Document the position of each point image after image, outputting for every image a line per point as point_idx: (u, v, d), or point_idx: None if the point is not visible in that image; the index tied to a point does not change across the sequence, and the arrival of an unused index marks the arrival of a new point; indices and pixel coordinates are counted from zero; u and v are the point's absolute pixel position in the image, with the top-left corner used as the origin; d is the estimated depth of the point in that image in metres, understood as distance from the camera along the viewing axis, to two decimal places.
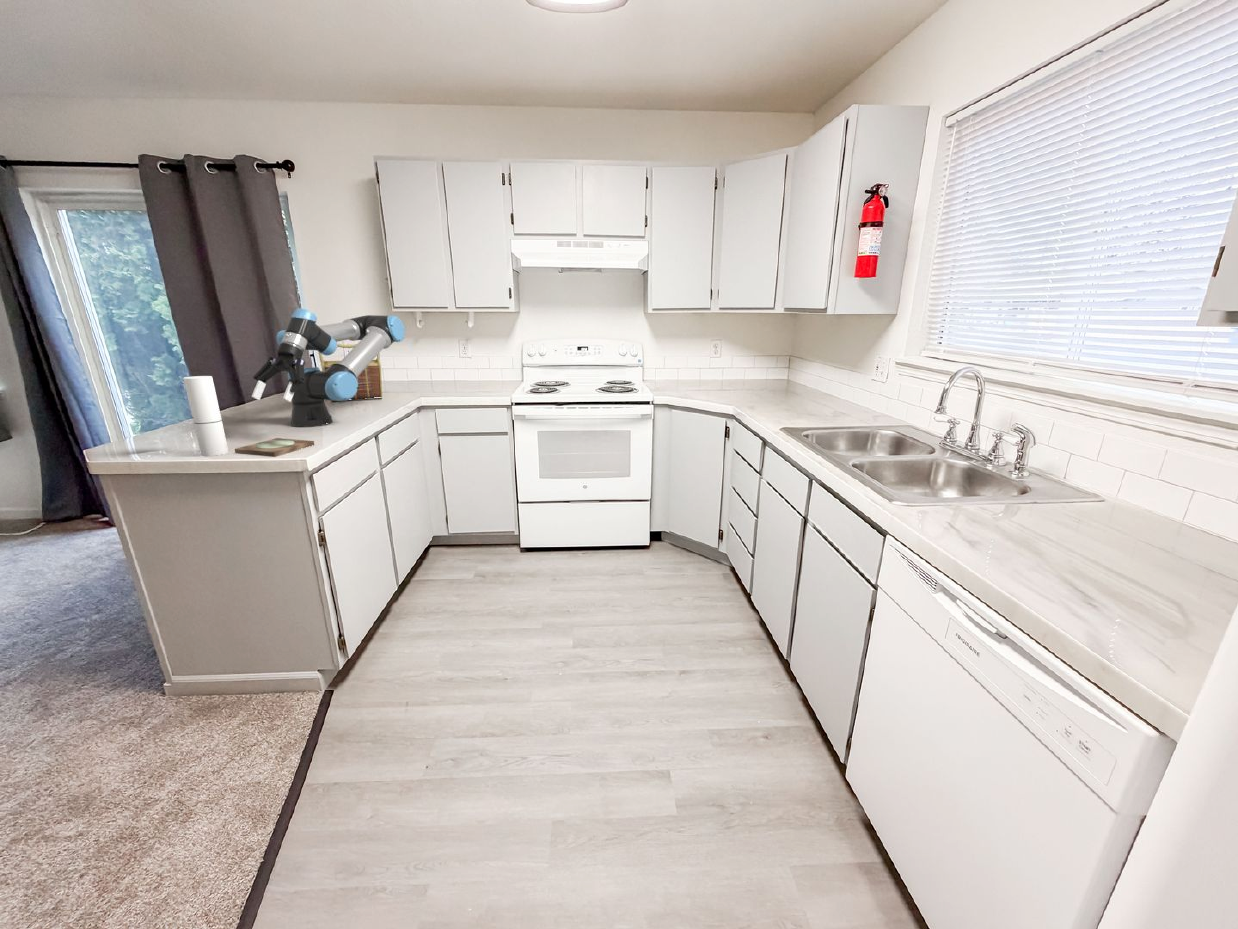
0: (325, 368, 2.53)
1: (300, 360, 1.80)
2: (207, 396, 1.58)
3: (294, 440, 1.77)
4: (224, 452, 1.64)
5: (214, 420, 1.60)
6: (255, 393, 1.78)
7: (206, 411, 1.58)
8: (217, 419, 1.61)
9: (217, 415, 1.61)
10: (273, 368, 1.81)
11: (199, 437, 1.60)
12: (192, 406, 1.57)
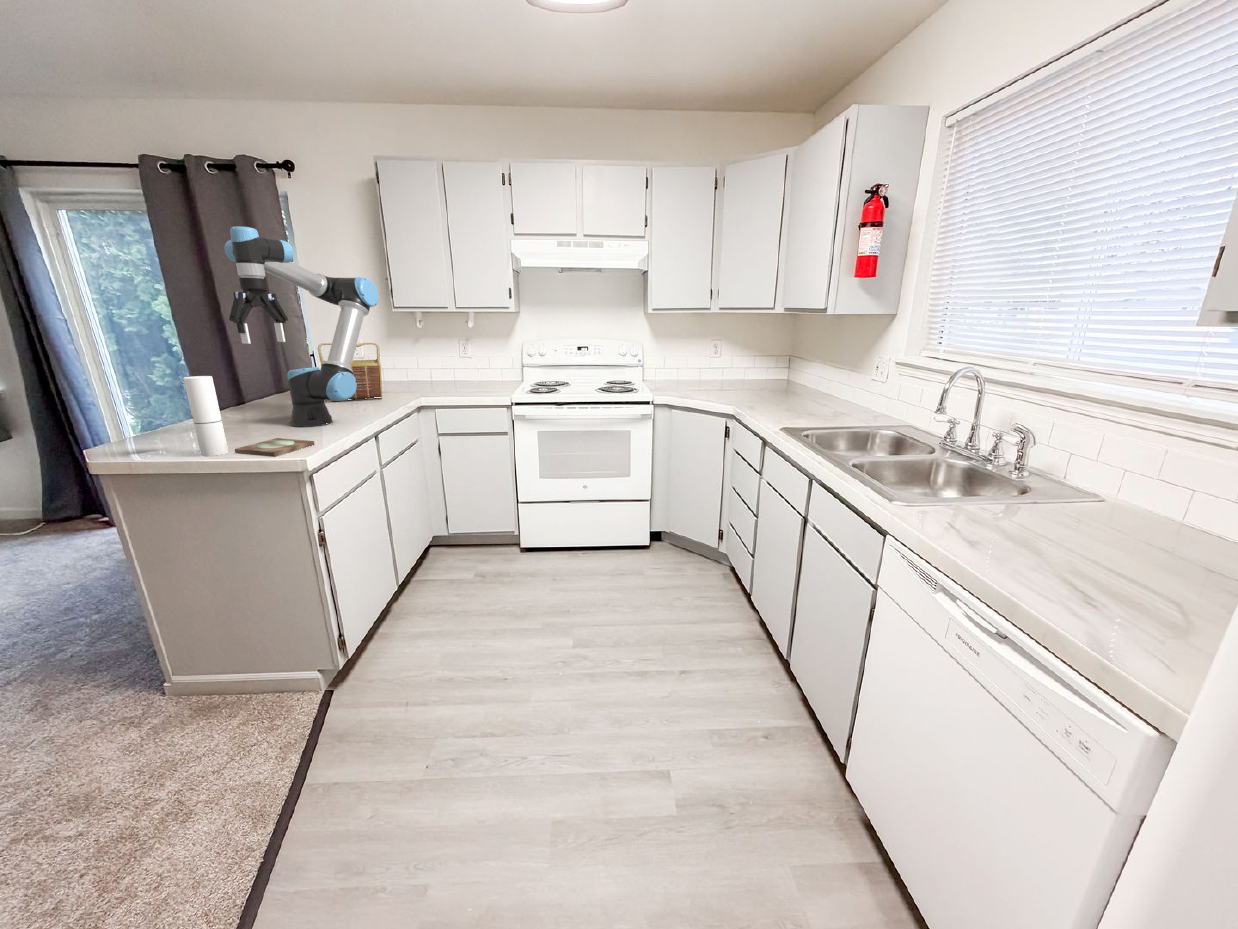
0: None
1: (234, 294, 1.63)
2: (207, 396, 1.58)
3: (294, 440, 1.77)
4: (224, 452, 1.64)
5: (214, 420, 1.60)
6: (277, 337, 1.79)
7: (206, 411, 1.58)
8: (217, 419, 1.61)
9: (217, 415, 1.61)
10: (263, 307, 1.73)
11: (199, 437, 1.60)
12: (192, 406, 1.57)
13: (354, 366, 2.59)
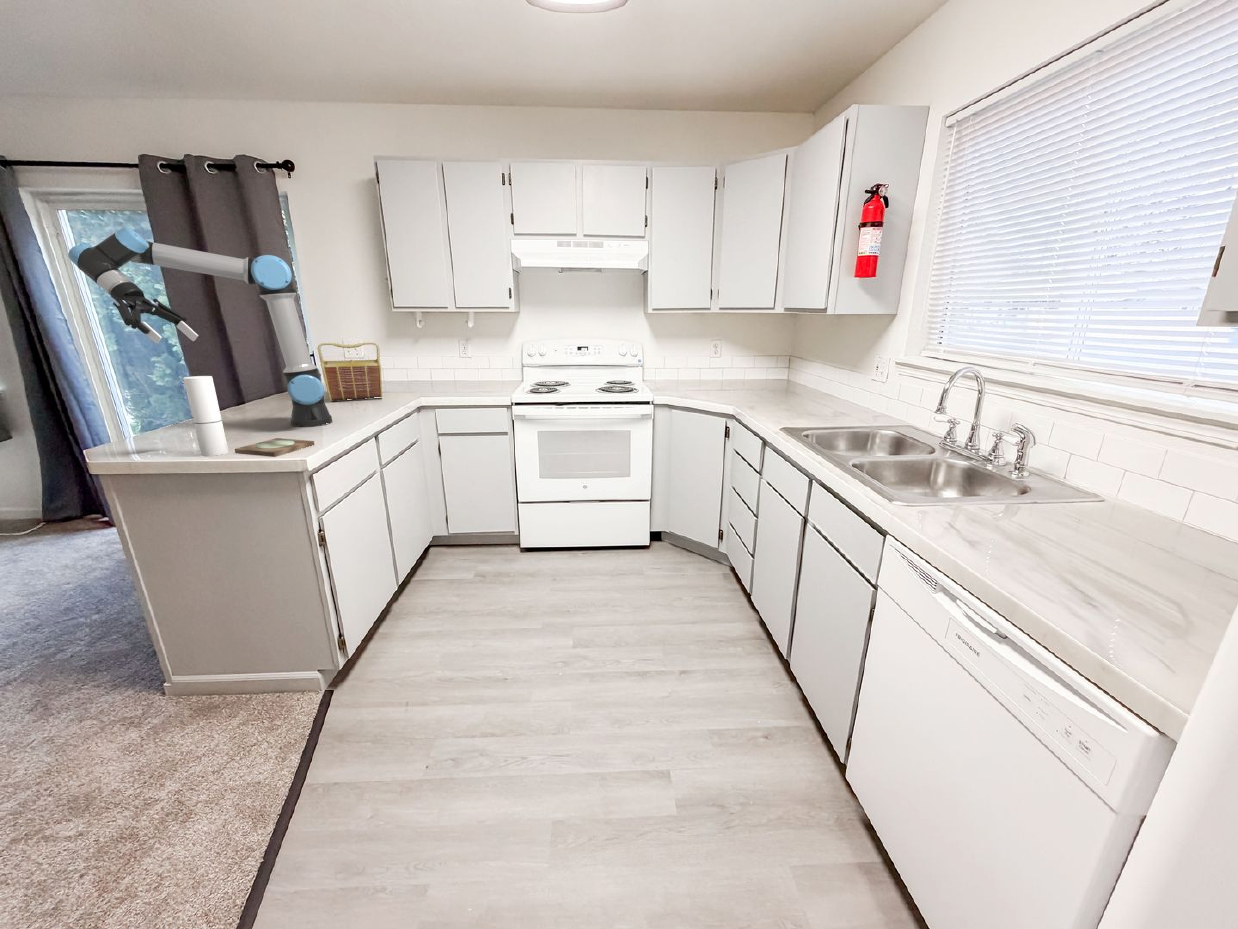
0: (325, 368, 2.53)
1: (114, 304, 1.55)
2: (207, 396, 1.58)
3: (294, 440, 1.77)
4: (224, 452, 1.64)
5: (214, 420, 1.60)
6: (189, 337, 1.70)
7: (206, 411, 1.58)
8: (217, 419, 1.61)
9: (217, 415, 1.61)
10: (154, 314, 1.65)
11: (199, 437, 1.60)
12: (192, 406, 1.57)
13: (354, 366, 2.59)
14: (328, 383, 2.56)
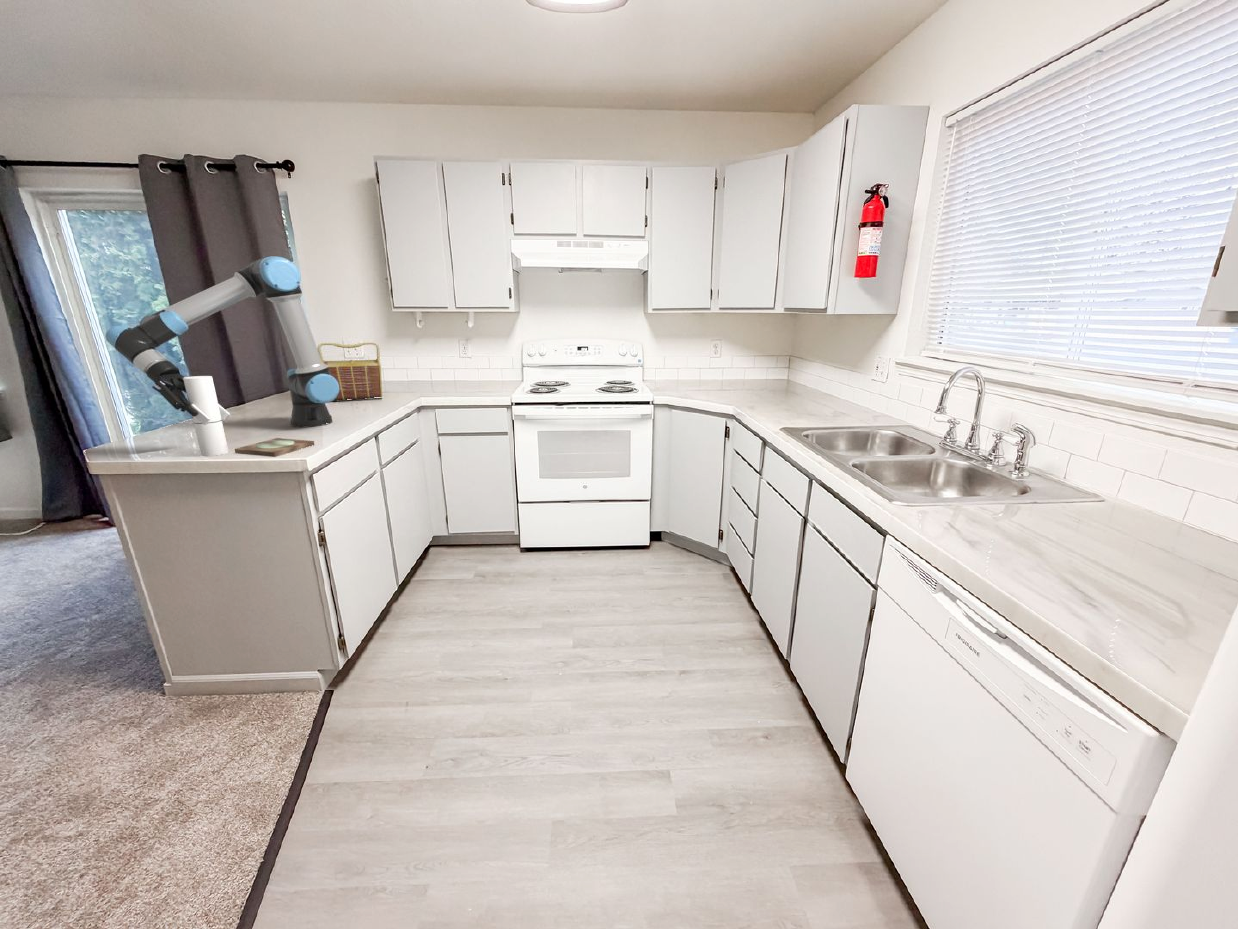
0: None
1: (154, 388, 1.53)
2: (207, 396, 1.58)
3: (294, 440, 1.77)
4: (224, 452, 1.64)
5: (214, 420, 1.60)
6: (221, 416, 1.65)
7: (206, 411, 1.58)
8: (217, 419, 1.61)
9: (217, 415, 1.61)
10: None
11: (199, 437, 1.60)
12: None
13: (354, 366, 2.59)
14: None
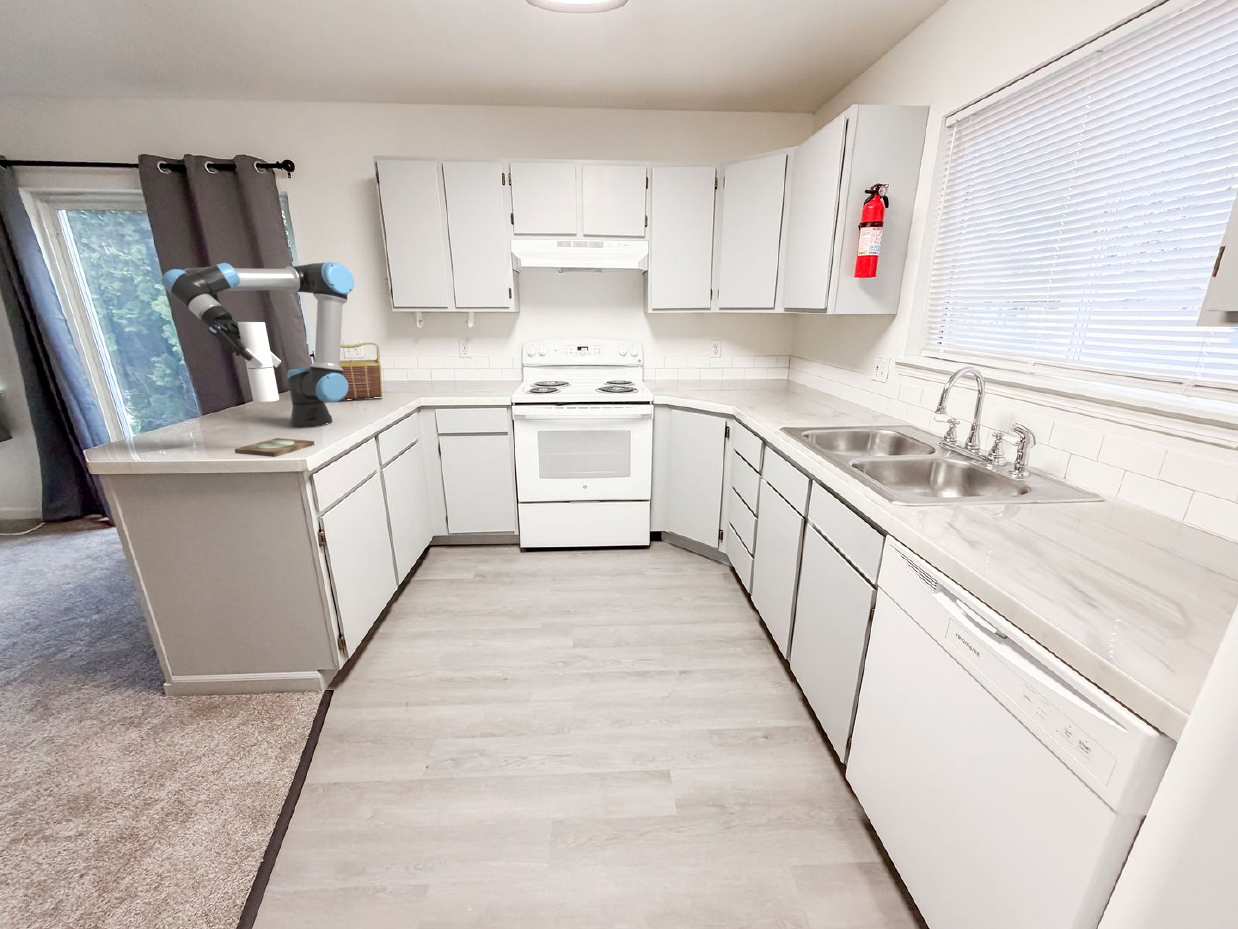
0: None
1: (210, 331, 1.54)
2: (261, 341, 1.59)
3: (294, 440, 1.77)
4: (275, 399, 1.66)
5: (267, 366, 1.62)
6: None
7: (259, 356, 1.60)
8: (269, 365, 1.63)
9: (269, 361, 1.63)
10: (240, 338, 1.63)
11: (252, 382, 1.61)
12: None
13: (354, 366, 2.59)
14: None
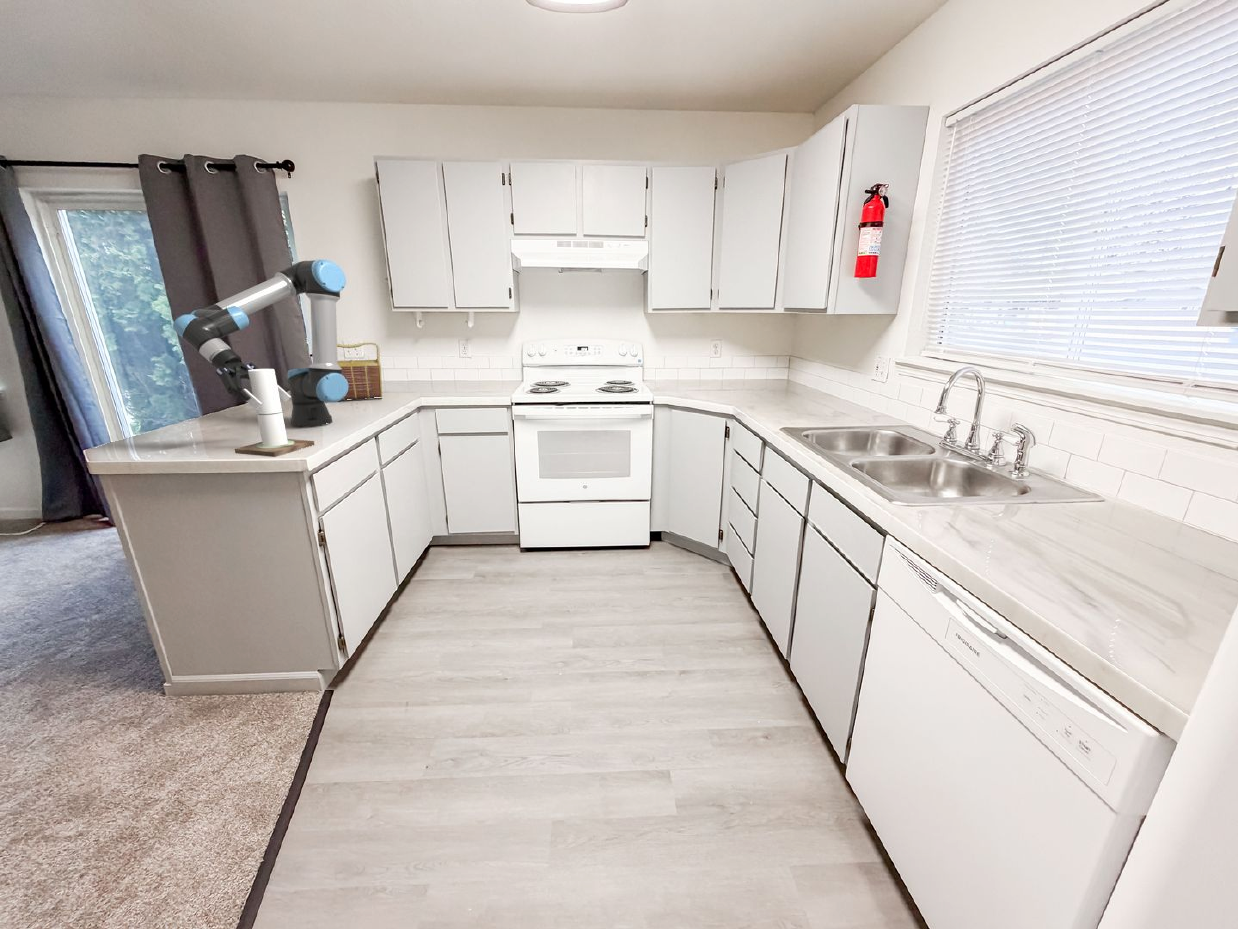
0: None
1: (217, 372, 1.58)
2: (270, 388, 1.64)
3: (294, 440, 1.77)
4: (284, 442, 1.70)
5: (276, 411, 1.66)
6: (282, 398, 1.73)
7: (269, 402, 1.64)
8: (279, 410, 1.67)
9: (279, 406, 1.67)
10: None
11: (262, 428, 1.66)
12: (256, 397, 1.63)
13: (354, 366, 2.59)
14: None
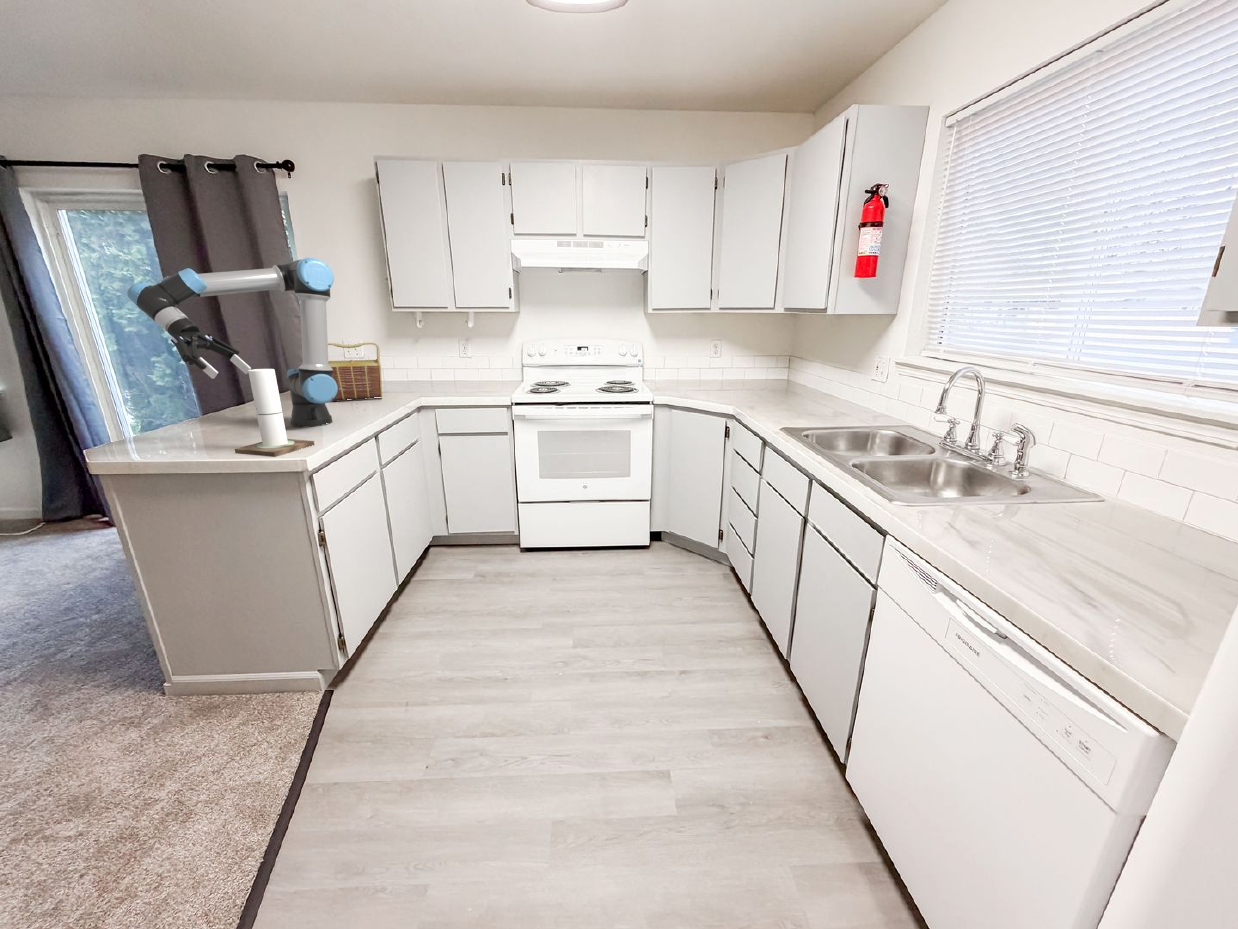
0: None
1: (172, 340, 1.55)
2: (271, 388, 1.64)
3: (294, 440, 1.77)
4: (284, 442, 1.70)
5: (276, 411, 1.66)
6: (242, 370, 1.71)
7: (269, 402, 1.64)
8: (279, 410, 1.67)
9: (279, 406, 1.67)
10: (209, 348, 1.66)
11: (262, 428, 1.66)
12: (256, 397, 1.63)
13: (354, 366, 2.59)
14: None
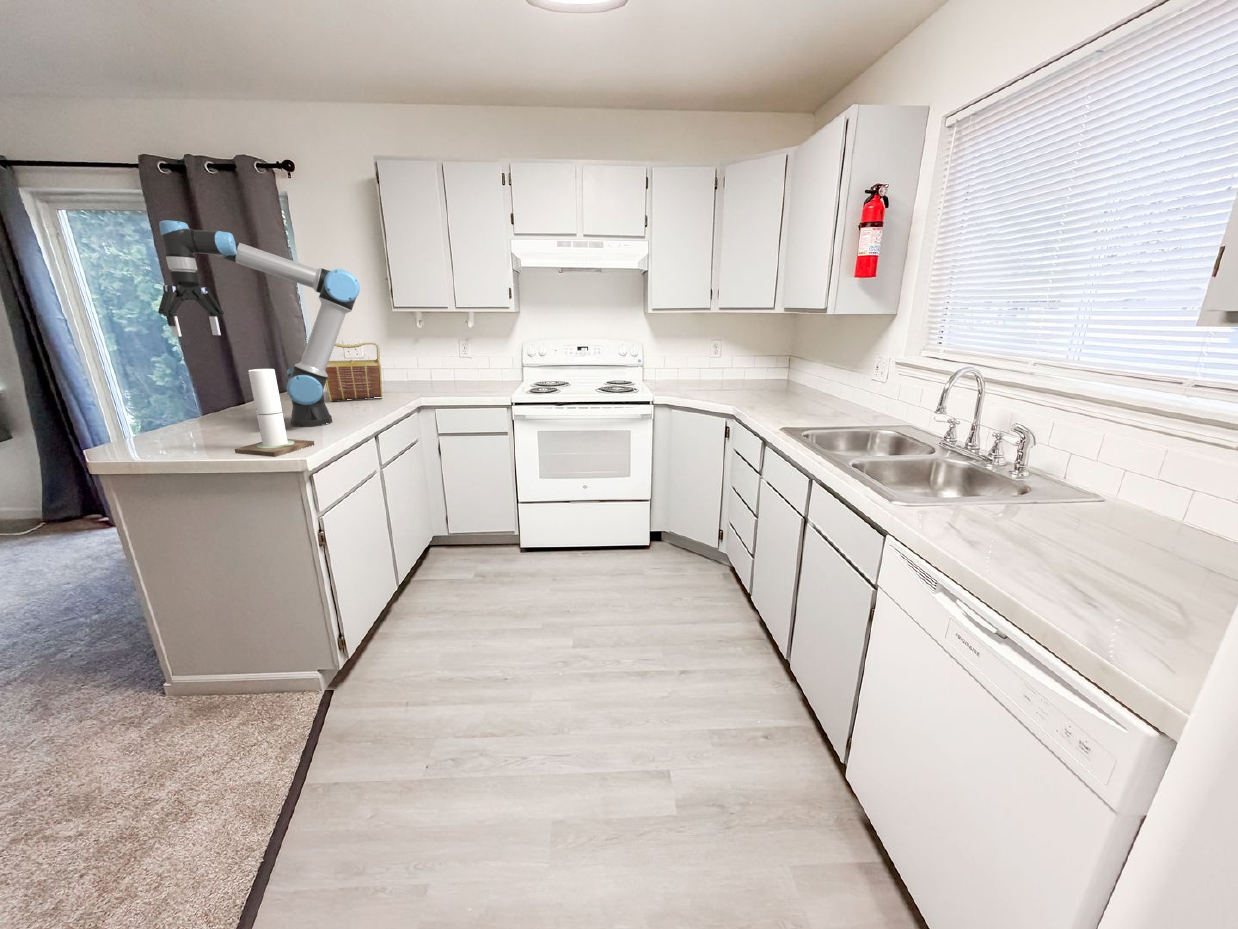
0: None
1: (164, 287, 1.65)
2: (271, 388, 1.64)
3: (294, 440, 1.77)
4: (284, 442, 1.70)
5: (276, 411, 1.66)
6: (212, 330, 1.82)
7: (269, 402, 1.64)
8: (279, 410, 1.67)
9: (279, 406, 1.67)
10: (196, 300, 1.75)
11: (262, 428, 1.66)
12: (256, 397, 1.63)
13: (354, 366, 2.59)
14: (328, 383, 2.56)
